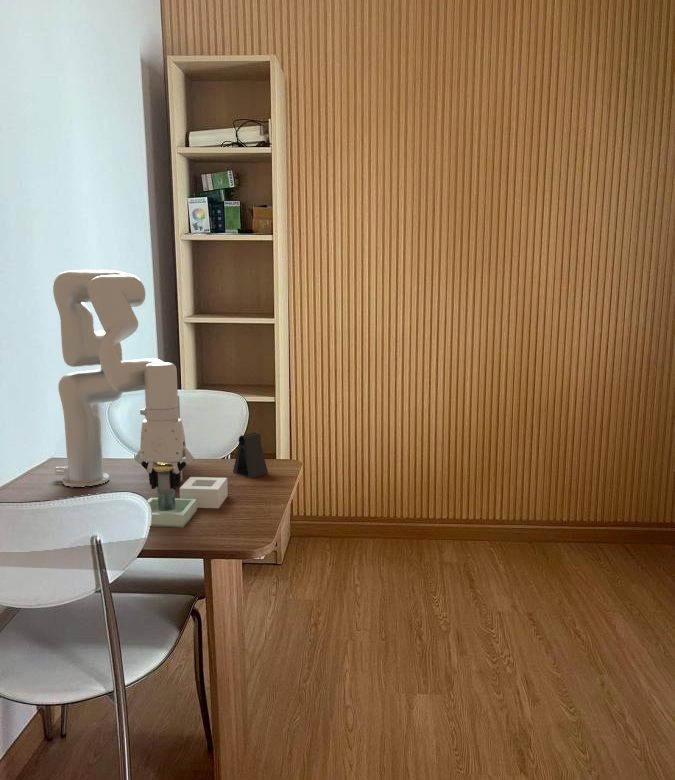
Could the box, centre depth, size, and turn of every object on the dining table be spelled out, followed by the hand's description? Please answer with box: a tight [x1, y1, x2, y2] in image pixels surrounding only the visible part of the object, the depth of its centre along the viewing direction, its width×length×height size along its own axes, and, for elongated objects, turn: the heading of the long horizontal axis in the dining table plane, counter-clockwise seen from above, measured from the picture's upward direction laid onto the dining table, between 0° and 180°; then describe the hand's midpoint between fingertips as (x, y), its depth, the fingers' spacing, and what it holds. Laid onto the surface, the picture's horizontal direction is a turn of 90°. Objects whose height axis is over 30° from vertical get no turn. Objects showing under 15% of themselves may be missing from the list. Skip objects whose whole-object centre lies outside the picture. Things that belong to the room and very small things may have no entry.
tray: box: [146, 497, 198, 528], centre depth 177 cm, size 12×12×3 cm
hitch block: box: [178, 476, 229, 509], centre depth 189 cm, size 10×10×5 cm
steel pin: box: [153, 462, 176, 511], centre depth 176 cm, size 6×6×11 cm
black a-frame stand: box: [232, 432, 269, 479], centre depth 213 cm, size 9×6×12 cm, turn 47°
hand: (165, 487), depth 176 cm, fingers closed on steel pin, 4 cm apart
